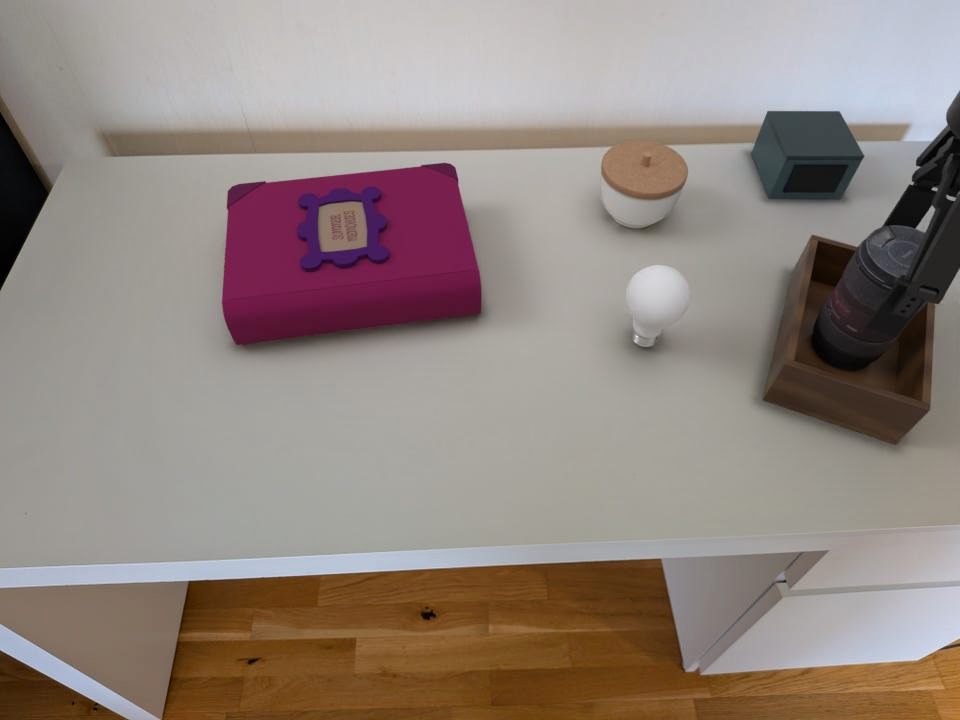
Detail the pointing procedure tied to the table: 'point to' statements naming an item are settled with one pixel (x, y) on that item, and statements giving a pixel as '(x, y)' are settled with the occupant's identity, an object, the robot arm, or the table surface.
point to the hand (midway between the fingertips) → (886, 282)
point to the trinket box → (641, 182)
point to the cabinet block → (806, 155)
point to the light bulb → (655, 302)
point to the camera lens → (864, 299)
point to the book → (347, 253)
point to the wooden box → (841, 393)
